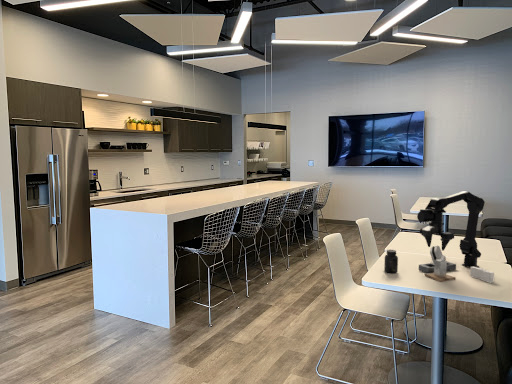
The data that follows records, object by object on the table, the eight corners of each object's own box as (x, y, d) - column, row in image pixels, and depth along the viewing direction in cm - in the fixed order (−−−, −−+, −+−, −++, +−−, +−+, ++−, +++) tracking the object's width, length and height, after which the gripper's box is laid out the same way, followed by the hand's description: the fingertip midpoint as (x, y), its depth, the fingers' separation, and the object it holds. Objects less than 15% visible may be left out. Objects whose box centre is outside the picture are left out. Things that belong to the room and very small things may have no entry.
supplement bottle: (382, 270, 209) (382, 249, 208) (394, 270, 210) (394, 248, 209) (387, 274, 203) (388, 252, 202) (399, 274, 203) (400, 252, 202)
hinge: (442, 265, 220) (437, 248, 221) (434, 266, 222) (428, 250, 223) (446, 258, 234) (440, 242, 235) (437, 260, 237) (432, 244, 237)
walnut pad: (439, 273, 203) (439, 272, 203) (455, 279, 194) (455, 277, 194) (425, 276, 200) (425, 274, 200) (440, 281, 190) (440, 279, 190)
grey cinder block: (445, 266, 218) (445, 261, 217) (456, 269, 211) (456, 264, 211) (418, 270, 210) (418, 264, 210) (428, 273, 204) (428, 268, 203)
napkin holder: (464, 275, 203) (465, 264, 202) (487, 276, 200) (488, 265, 200) (474, 284, 188) (475, 272, 188) (500, 285, 186) (500, 274, 185)
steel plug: (439, 274, 199) (440, 259, 199) (446, 276, 196) (446, 261, 195) (433, 275, 198) (434, 260, 197) (440, 277, 194) (440, 262, 193)
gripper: (412, 219, 215) (411, 246, 216) (440, 224, 198) (439, 254, 199) (427, 218, 219) (426, 244, 221) (455, 223, 202) (454, 251, 203)
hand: (435, 248), depth 211 cm, fingers open, 9 cm apart
